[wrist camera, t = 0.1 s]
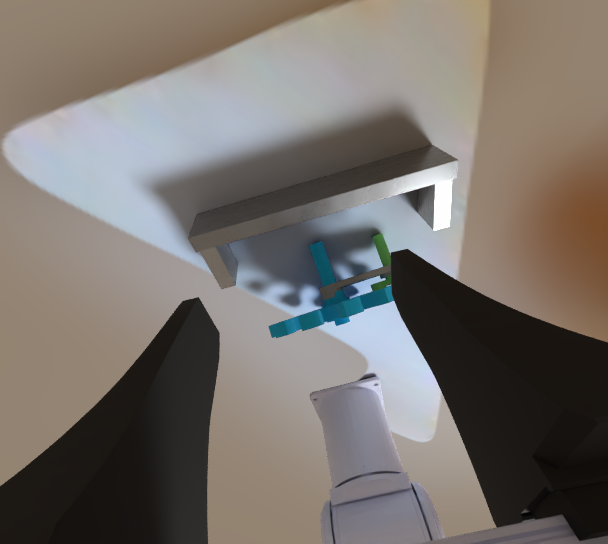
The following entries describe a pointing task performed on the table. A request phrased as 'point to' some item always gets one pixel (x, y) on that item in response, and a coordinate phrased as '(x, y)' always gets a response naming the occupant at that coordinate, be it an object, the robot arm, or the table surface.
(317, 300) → the table surface
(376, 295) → the gear
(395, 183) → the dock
